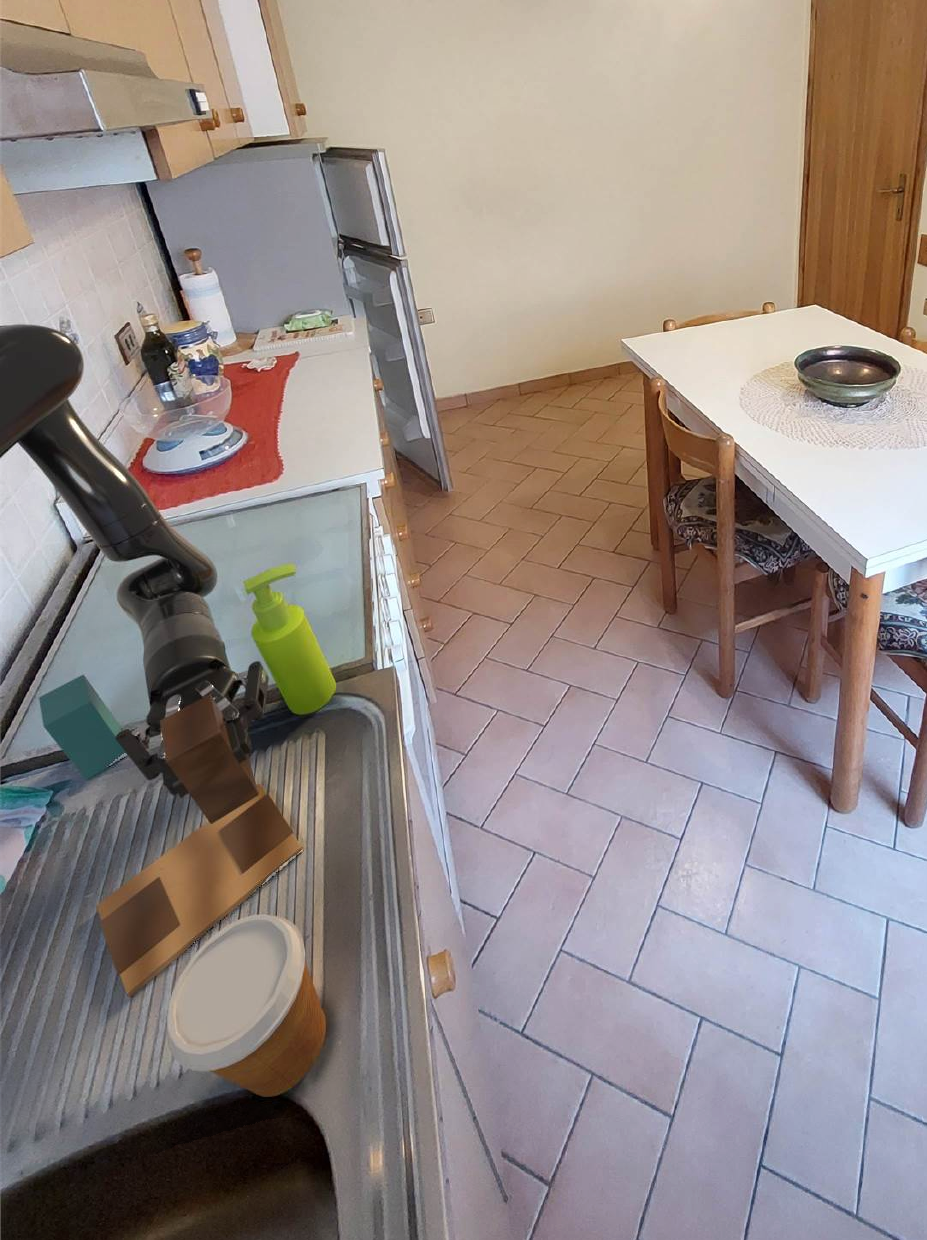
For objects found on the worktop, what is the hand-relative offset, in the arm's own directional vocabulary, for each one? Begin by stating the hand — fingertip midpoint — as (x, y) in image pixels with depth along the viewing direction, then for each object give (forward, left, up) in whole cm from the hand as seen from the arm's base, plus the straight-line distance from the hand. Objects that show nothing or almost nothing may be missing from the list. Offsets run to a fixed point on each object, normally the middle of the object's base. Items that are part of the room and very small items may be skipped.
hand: (211, 772), depth 64 cm
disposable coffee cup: (-5, -17, -14) cm, 23 cm away
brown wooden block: (0, +3, -6) cm, 7 cm away
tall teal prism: (-8, +29, -14) cm, 33 cm away
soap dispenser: (+13, +16, -14) cm, 25 cm away
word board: (-5, +3, -14) cm, 15 cm away
